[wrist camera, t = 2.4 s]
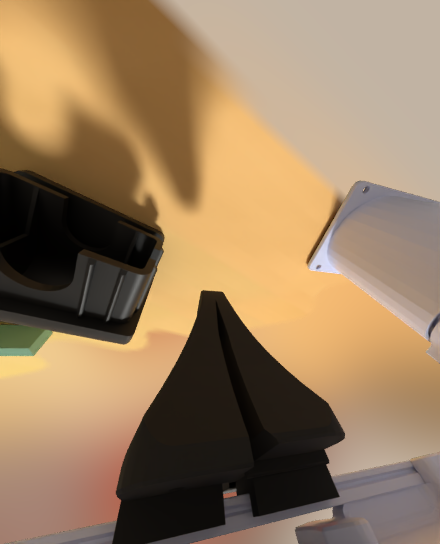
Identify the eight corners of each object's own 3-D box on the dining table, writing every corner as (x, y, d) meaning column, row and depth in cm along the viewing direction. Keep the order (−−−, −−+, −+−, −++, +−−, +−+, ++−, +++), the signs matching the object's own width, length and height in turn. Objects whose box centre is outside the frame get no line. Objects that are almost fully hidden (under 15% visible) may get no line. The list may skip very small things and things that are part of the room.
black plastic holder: (14, 255, 13) (-126, 327, 7) (11, 160, 10) (-233, 161, 4) (145, 295, 17) (119, 363, 11) (172, 236, 14) (156, 289, 8)
